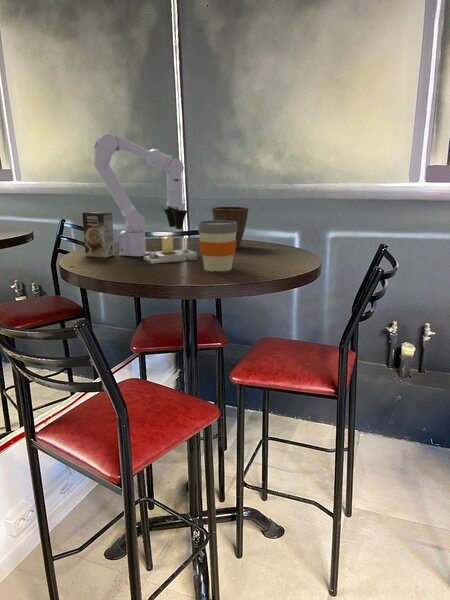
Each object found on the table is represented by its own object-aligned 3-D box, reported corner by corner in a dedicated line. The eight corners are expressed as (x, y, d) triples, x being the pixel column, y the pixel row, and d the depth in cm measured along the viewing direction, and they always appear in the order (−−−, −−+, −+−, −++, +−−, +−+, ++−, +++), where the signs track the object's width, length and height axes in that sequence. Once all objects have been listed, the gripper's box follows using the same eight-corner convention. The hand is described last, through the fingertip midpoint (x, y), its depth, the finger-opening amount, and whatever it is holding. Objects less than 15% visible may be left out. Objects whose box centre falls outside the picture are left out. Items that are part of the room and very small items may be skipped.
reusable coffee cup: (200, 264, 159) (199, 220, 155) (237, 264, 159) (237, 220, 155) (197, 272, 147) (196, 224, 143) (237, 272, 147) (237, 224, 143)
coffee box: (84, 256, 175) (81, 212, 170) (95, 253, 180) (91, 210, 176) (105, 257, 172) (102, 213, 167) (115, 254, 177) (112, 211, 173)
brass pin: (160, 260, 167) (159, 237, 165) (165, 258, 170) (164, 236, 168) (170, 260, 165) (169, 238, 163) (175, 259, 169) (174, 236, 167)
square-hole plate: (151, 263, 161) (150, 254, 160) (143, 259, 169) (143, 250, 168) (196, 259, 168) (196, 250, 167) (187, 255, 176) (187, 246, 175)
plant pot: (213, 244, 202) (213, 206, 197) (247, 244, 201) (248, 206, 197) (210, 250, 187) (210, 209, 183) (248, 250, 187) (248, 209, 182)
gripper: (191, 192, 172) (192, 229, 176) (178, 190, 185) (178, 225, 188) (173, 192, 169) (174, 230, 173) (160, 191, 182) (162, 226, 185)
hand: (175, 227), depth 180 cm, fingers open, 7 cm apart
